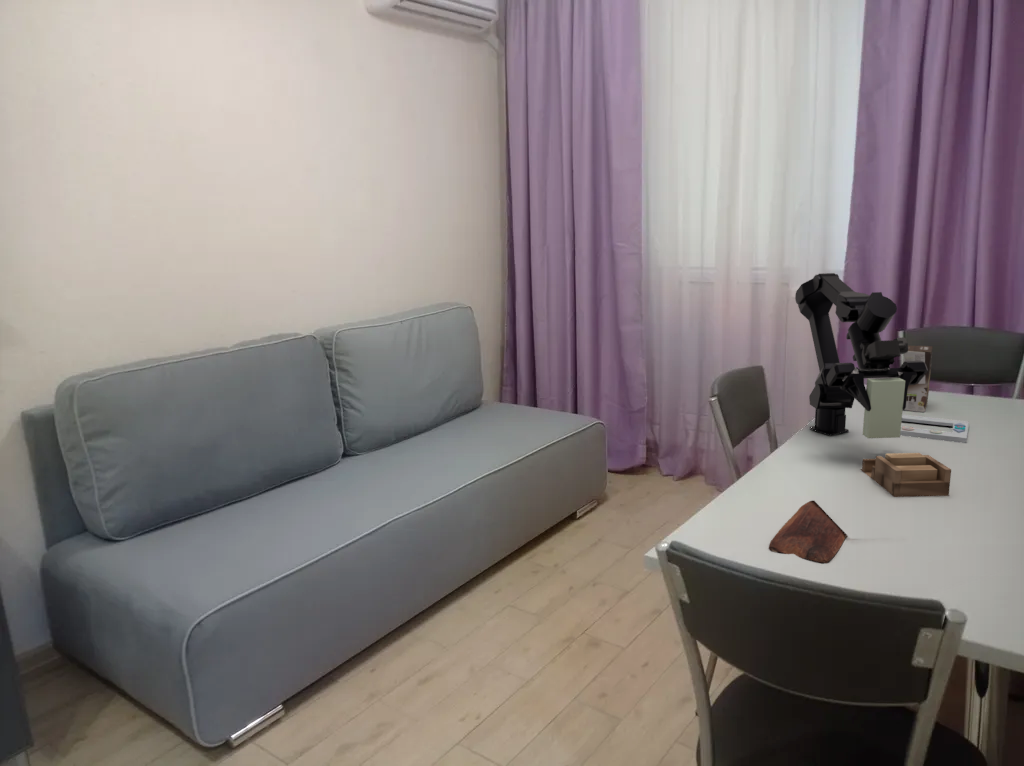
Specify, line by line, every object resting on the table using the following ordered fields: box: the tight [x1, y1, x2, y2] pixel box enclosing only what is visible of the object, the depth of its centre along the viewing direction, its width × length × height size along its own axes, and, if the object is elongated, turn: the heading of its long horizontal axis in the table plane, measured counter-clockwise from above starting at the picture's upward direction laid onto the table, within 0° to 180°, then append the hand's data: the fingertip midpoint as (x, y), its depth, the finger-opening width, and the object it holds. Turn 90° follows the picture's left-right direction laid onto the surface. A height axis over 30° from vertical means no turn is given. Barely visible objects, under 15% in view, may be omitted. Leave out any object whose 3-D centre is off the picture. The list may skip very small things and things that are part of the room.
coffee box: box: [902, 344, 934, 413], centre depth 198 cm, size 9×6×16 cm
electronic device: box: [900, 414, 970, 444], centre depth 180 cm, size 18×2×15 cm
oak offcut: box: [884, 452, 926, 466], centre depth 144 cm, size 2×6×6 cm, turn 88°
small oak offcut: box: [896, 465, 937, 481], centre depth 140 cm, size 2×6×4 cm, turn 88°
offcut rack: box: [859, 454, 952, 498], centre depth 145 cm, size 15×10×6 cm, turn 178°
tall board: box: [862, 378, 905, 439], centre depth 153 cm, size 2×6×12 cm, turn 88°
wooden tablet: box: [768, 500, 847, 564], centre depth 129 cm, size 26×2×10 cm
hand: (886, 409), depth 151 cm, fingers closed on tall board, 6 cm apart
